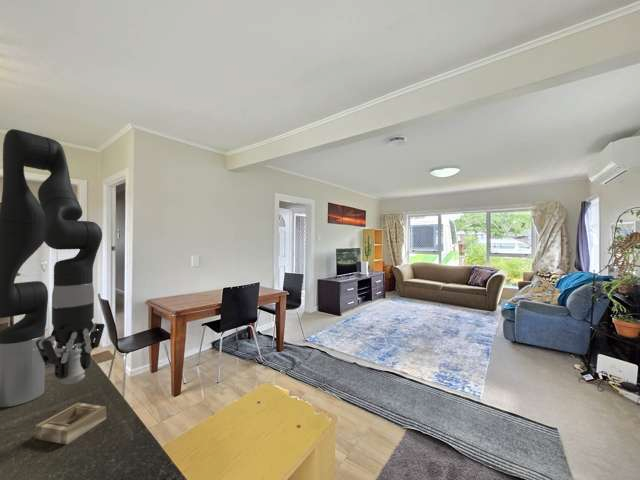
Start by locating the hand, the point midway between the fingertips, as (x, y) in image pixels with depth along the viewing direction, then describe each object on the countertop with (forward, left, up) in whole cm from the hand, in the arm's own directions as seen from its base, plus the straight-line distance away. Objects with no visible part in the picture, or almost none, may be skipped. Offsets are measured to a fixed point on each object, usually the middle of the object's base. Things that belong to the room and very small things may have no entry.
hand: (73, 372), depth 65 cm
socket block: (0, 0, -13) cm, 13 cm away
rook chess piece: (0, 0, -2) cm, 2 cm away
